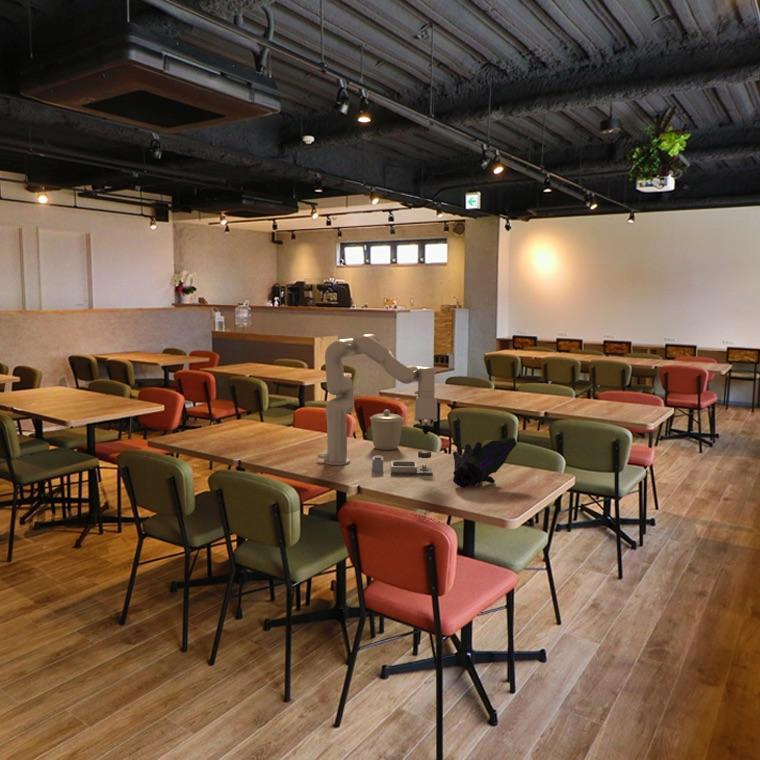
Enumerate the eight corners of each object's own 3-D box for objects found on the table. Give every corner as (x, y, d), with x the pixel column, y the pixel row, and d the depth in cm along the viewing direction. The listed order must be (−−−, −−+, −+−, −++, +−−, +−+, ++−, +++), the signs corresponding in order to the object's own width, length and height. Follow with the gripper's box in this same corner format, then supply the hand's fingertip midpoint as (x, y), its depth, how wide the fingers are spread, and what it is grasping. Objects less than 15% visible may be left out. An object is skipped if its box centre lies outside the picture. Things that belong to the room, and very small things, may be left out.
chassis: (390, 475, 286) (390, 467, 285) (390, 468, 298) (390, 460, 297) (432, 475, 286) (432, 467, 285) (430, 468, 298) (431, 461, 297)
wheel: (418, 458, 288) (418, 453, 287) (417, 454, 294) (417, 450, 293) (431, 458, 288) (431, 454, 287) (430, 455, 294) (430, 450, 293)
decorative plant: (453, 506, 273) (481, 473, 296) (503, 494, 256) (528, 460, 280) (431, 464, 271) (461, 434, 294) (480, 450, 254) (508, 419, 278)
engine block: (372, 472, 290) (372, 458, 289) (372, 469, 296) (372, 454, 295) (383, 472, 290) (383, 458, 289) (383, 469, 296) (383, 455, 295)
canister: (363, 450, 332) (364, 410, 330) (377, 443, 349) (377, 405, 346) (395, 453, 326) (396, 413, 323) (407, 446, 342) (408, 408, 340)
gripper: (410, 395, 283) (409, 435, 286) (443, 395, 283) (442, 435, 285) (409, 392, 291) (409, 432, 293) (441, 393, 291) (441, 432, 293)
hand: (425, 433), depth 289 cm, fingers closed
